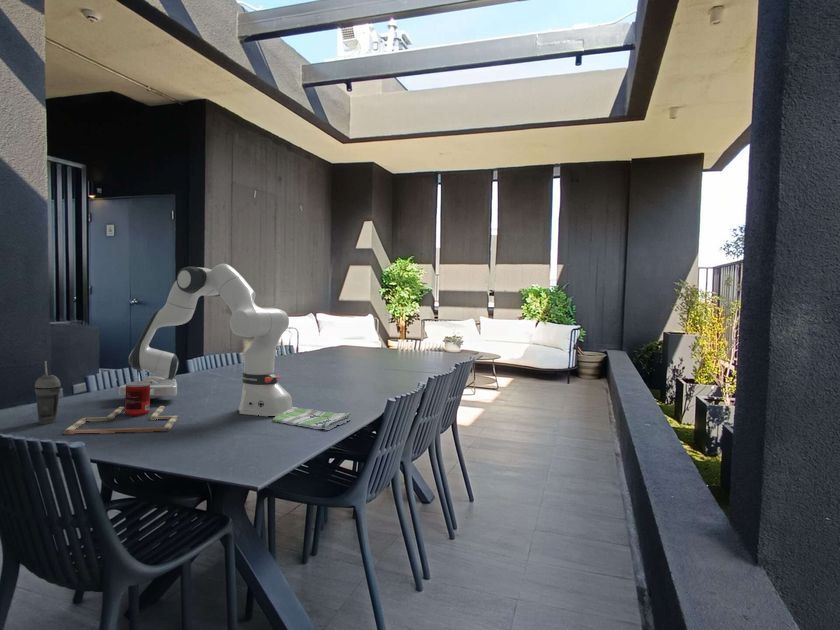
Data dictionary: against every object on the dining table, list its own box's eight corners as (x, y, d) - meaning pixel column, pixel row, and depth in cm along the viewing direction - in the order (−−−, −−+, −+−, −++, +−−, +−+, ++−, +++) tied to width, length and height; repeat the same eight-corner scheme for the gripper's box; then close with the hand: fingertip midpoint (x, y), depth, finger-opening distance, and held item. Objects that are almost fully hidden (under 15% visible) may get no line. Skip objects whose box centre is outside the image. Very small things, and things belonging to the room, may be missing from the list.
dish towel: (326, 432, 175) (327, 422, 175) (270, 423, 184) (270, 413, 183) (352, 421, 191) (352, 412, 191) (299, 413, 199) (299, 404, 199)
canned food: (146, 410, 193) (147, 380, 192) (151, 414, 187) (152, 384, 186) (123, 412, 188) (123, 382, 187) (127, 417, 182) (128, 385, 181)
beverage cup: (43, 425, 167) (44, 363, 166) (28, 423, 170) (28, 361, 169) (66, 420, 174) (67, 360, 173) (50, 418, 176) (51, 359, 176)
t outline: (97, 409, 190) (97, 407, 190) (184, 408, 198) (184, 405, 198) (63, 434, 159) (63, 431, 159) (168, 431, 167) (168, 428, 167)
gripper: (123, 379, 207) (113, 385, 194) (180, 379, 213) (173, 385, 199) (123, 395, 207) (113, 402, 194) (179, 394, 213) (173, 401, 200)
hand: (144, 393), depth 197 cm, fingers closed
